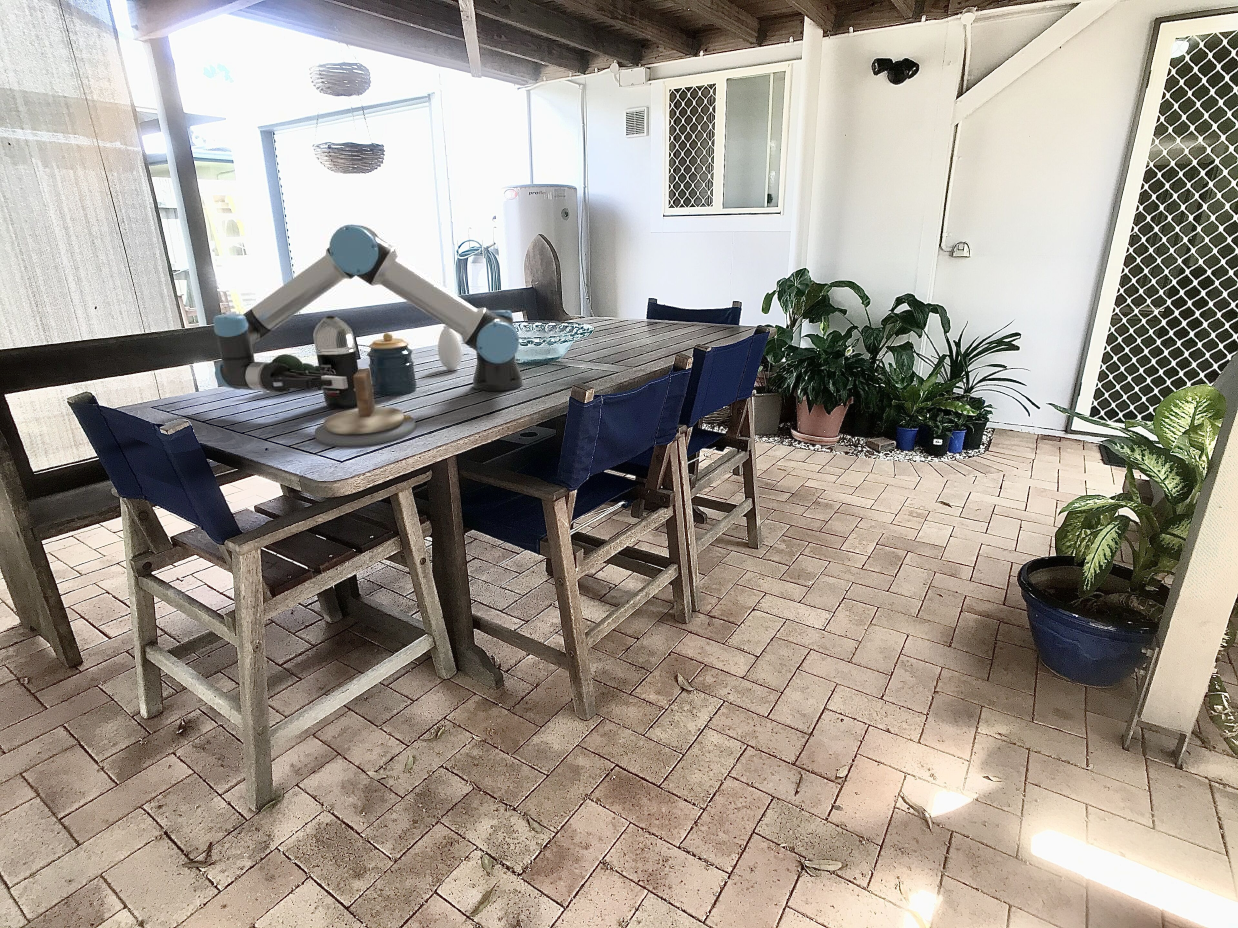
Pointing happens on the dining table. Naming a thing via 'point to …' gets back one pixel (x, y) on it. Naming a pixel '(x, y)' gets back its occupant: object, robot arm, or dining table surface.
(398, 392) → the canister
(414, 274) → the robot arm
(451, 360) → the white tall oval piece
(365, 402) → the dial
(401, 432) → the base
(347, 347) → the black chrome cylinder
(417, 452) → the dining table surface
